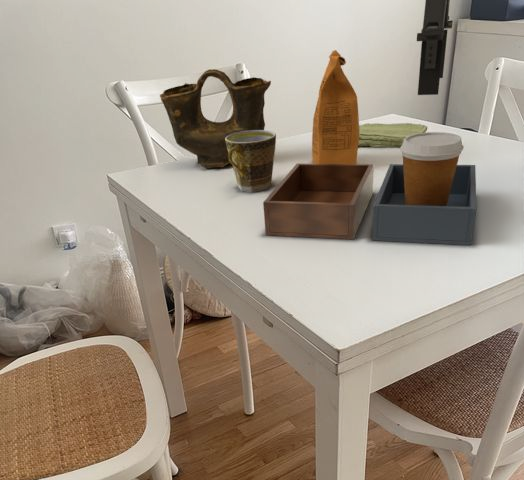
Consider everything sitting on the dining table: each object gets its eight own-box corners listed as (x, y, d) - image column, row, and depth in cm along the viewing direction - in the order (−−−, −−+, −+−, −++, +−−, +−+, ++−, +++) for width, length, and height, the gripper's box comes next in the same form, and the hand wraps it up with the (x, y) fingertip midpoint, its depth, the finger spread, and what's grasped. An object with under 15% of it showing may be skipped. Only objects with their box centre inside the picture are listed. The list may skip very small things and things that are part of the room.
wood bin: (372, 194, 102) (373, 164, 99) (353, 239, 85) (354, 205, 82) (297, 192, 106) (296, 163, 103) (265, 235, 89) (263, 202, 86)
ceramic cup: (246, 177, 117) (242, 128, 111) (287, 181, 112) (284, 131, 107) (213, 196, 108) (206, 145, 102) (255, 202, 103) (251, 148, 98)
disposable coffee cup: (419, 228, 85) (426, 150, 78) (384, 211, 92) (388, 138, 86) (467, 215, 88) (478, 139, 81) (430, 199, 95) (437, 128, 89)
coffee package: (355, 156, 124) (358, 47, 111) (359, 172, 113) (362, 54, 101) (312, 158, 125) (309, 51, 112) (312, 175, 114) (309, 58, 102)
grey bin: (470, 196, 97) (475, 164, 94) (470, 245, 80) (476, 208, 77) (388, 194, 101) (390, 164, 98) (371, 240, 84) (373, 205, 81)
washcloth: (422, 148, 125) (423, 133, 123) (346, 147, 130) (347, 133, 129) (427, 134, 135) (428, 120, 133) (357, 134, 140) (357, 121, 139)
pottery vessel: (276, 153, 131) (270, 61, 120) (275, 165, 122) (269, 68, 111) (175, 160, 133) (160, 71, 122) (167, 173, 124) (150, 78, 113)
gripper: (424, -89, 78) (412, 73, 90) (407, -106, 59) (395, 103, 71) (479, -96, 76) (459, 71, 88) (480, -115, 57) (455, 102, 69)
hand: (430, 86), depth 80 cm, fingers open, 13 cm apart
